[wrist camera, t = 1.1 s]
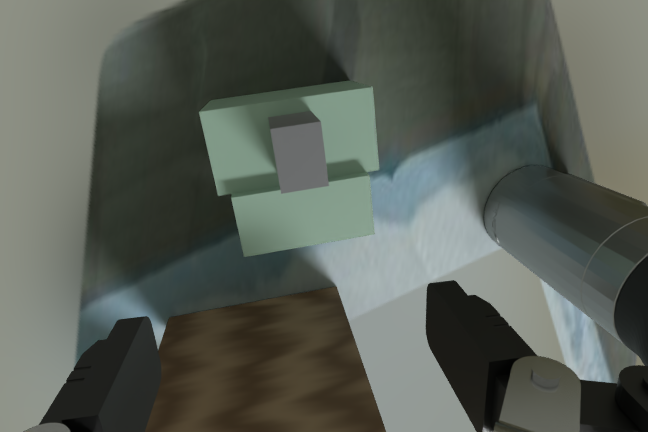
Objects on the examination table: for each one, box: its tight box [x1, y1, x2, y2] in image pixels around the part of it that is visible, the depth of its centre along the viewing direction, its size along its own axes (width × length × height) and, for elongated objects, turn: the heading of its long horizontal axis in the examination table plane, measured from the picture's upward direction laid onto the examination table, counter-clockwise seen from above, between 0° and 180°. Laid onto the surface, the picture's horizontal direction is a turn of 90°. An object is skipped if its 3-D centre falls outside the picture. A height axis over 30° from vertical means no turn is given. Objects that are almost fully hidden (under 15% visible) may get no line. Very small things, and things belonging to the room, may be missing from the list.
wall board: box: [145, 287, 386, 432], centre depth 35 cm, size 17×7×20 cm, turn 96°
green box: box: [199, 80, 379, 257], centre depth 33 cm, size 12×11×13 cm
